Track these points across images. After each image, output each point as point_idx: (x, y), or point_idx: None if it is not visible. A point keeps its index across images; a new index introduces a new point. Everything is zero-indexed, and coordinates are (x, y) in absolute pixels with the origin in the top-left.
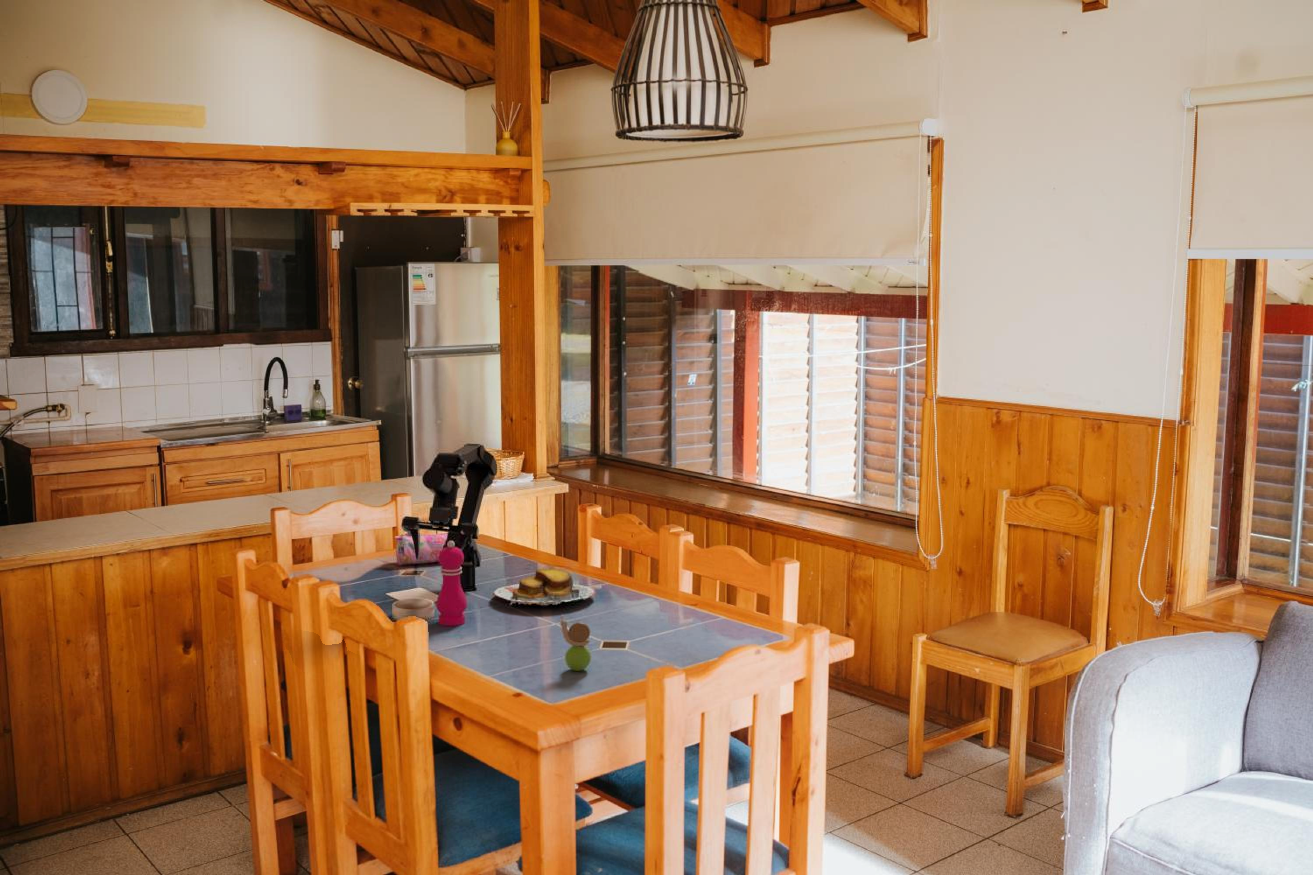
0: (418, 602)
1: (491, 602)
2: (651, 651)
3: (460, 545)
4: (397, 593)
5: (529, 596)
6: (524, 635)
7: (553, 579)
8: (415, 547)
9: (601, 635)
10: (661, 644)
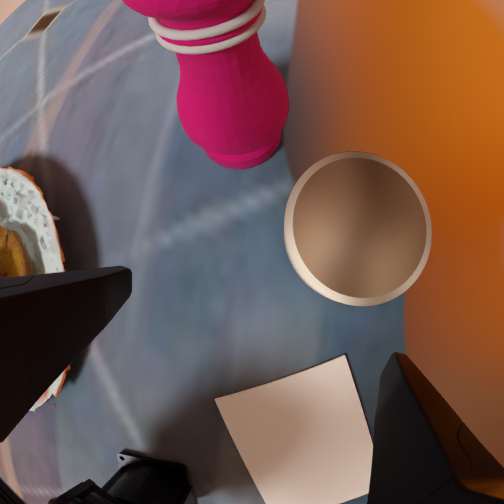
0: (343, 236)
1: None
2: (33, 12)
3: (7, 281)
4: (354, 484)
5: (10, 239)
6: (117, 38)
7: None
8: (441, 405)
9: (30, 52)
10: (11, 34)
